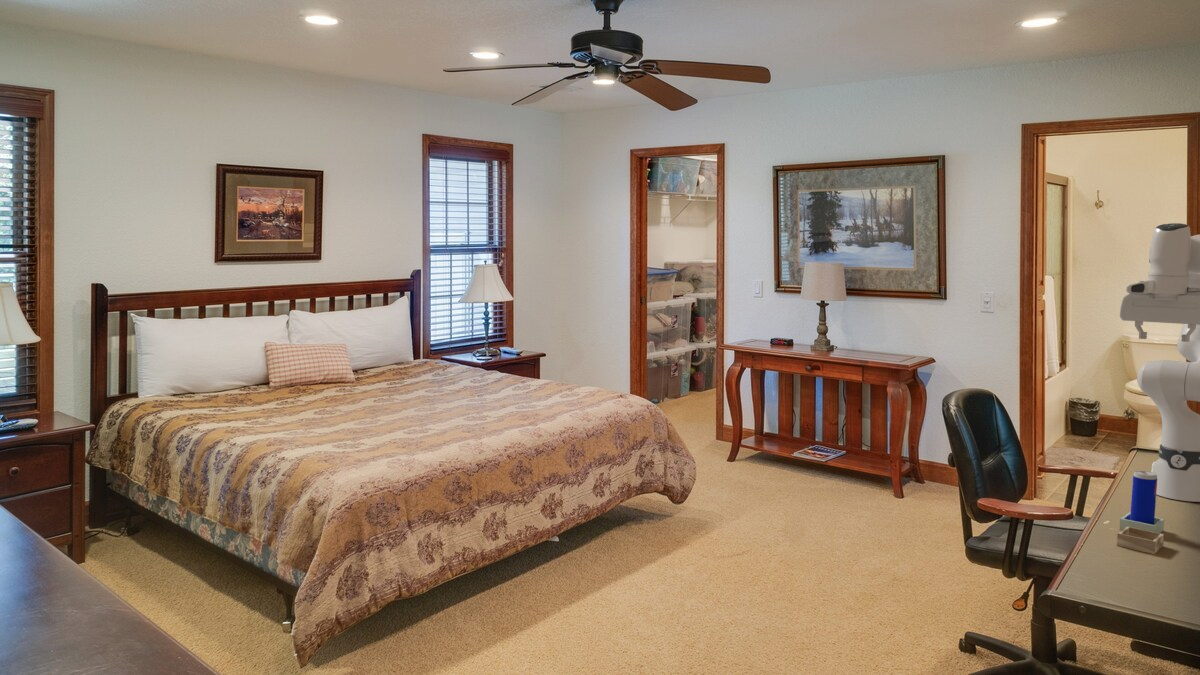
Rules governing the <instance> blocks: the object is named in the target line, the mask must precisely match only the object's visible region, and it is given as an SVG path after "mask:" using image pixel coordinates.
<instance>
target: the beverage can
mask: <svg viewBox="0 0 1200 675" xmlns="http://www.w3.org/2000/svg"><path fill="white" fill-rule="evenodd" d="M1131 488H1132V490H1131V502H1130V512H1131V515H1130V520H1132V521H1137V522H1141V523H1146V524H1151V525H1154V518H1155V517H1156V516H1155V514H1156V505H1157V504H1156V502H1157V494H1156V491H1157V475H1156V474H1155V473H1153V472H1151V471H1148V470H1135V471H1134V473H1133V477H1132V487H1131Z"/></svg>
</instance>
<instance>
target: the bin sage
mask: <svg viewBox="0 0 1200 675" xmlns="http://www.w3.org/2000/svg"><path fill="white" fill-rule="evenodd" d="M1130 515H1131V511H1129V512H1127V513H1126V514H1124V515H1123V516H1122V517H1120V518H1119V529H1118V530H1119V531H1122V530H1123V529H1124V528H1126V527H1127V526H1129V527H1133V528H1138V529H1143V530H1147V531H1152V532H1157V533H1161V534H1162V532H1164V528H1165V519H1164V518H1160V517H1156V516H1155V518H1154V525H1151V524H1146V523H1141V522H1137V521H1132V520H1130Z"/></svg>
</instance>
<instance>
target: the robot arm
mask: <svg viewBox="0 0 1200 675" xmlns="http://www.w3.org/2000/svg"><path fill="white" fill-rule="evenodd" d="M1148 254H1149V255H1148V256H1149V257H1148V258H1149V259H1148V262H1149V265H1150V266H1149V267H1150V268H1149V270H1148V274H1147V280H1140V281H1138V282H1135V283H1131V284H1128V285H1126V287H1125V288H1126V290H1125V291H1126V293H1127V294H1125V295H1124V296H1123V298H1122V300H1121V303H1120V310H1119V317H1120V319H1121V320H1122V321H1125V322H1126V321H1128V322H1134V327H1135V329H1136V330H1137V332H1138V339H1139V340H1146V339H1147V338H1148V336H1147V335H1148V332H1147V331H1144V329H1143V328H1142V326H1143V325H1144V322H1145V323H1162V324H1163V323H1164V324H1181V325H1182V328H1181V329H1180V330H1181V331H1180V333H1179V337H1178V339H1177V340H1178V341H1177V344H1176V345H1177V346H1176V347H1177V350H1178V352H1179V354H1180V355H1181V356H1182V357H1183V358H1184V359H1186V360H1187V361H1180V360H1169V359H1168V360H1167V359H1162V360H1150V361H1145V362H1144V363H1143V364H1142V365H1141V366H1140V368H1138V372H1137V375H1136V381H1137V382H1136V383H1137V385H1138V388H1139V389H1140V390H1141V391H1142V392H1143V393H1144V394H1145V395H1147V397H1149V398H1150V399H1151V400H1152V401H1153V403H1154V404H1155V406H1156V407H1157V410H1158V411H1159V414H1160V417H1161V427H1162V428H1161V429H1162V430H1161V431H1162V432H1161V433H1162V434H1161V444H1160V445H1159V449H1158V457H1159V458H1158V459H1157V460H1155V461H1153V462H1152V465H1151V471H1150V472H1153V473H1155V474H1156V475H1157V491H1156V496H1160V497H1163V498H1166V499H1172V500H1176V501H1177V500H1178V501H1182V502H1195V503H1197V502H1198V503H1200V414H1199V413H1197V412H1195V411H1193V410H1192V409H1190V407H1189V405H1188V404H1187V401H1191V402H1200V234H1195V235H1191V228H1190V225H1188V224H1186V223H1179V222H1178V223H1176V222H1174V223H1171V222H1170V223H1163V224H1160V225H1157V226H1156V227H1154V229H1153V233H1152V236H1151V242H1150V246H1149V253H1148Z"/></svg>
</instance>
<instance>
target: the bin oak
mask: <svg viewBox="0 0 1200 675" xmlns="http://www.w3.org/2000/svg"><path fill="white" fill-rule="evenodd" d="M1116 536H1117V538H1116V546H1117V547H1121V548H1125V549H1131V550H1134V551H1139V552H1144V553H1148V554H1152V555H1155V554H1156V553H1158V551H1159V550H1161V548H1163V547H1164V542H1165V541H1164V540H1165V538H1164V537H1165V533H1162V532H1161V533H1157V532H1152V531H1147V530H1143V529H1138V528H1133V527H1129V526H1127V527H1126V528H1124V529H1123V530H1122V531H1121V530H1119V532H1117V535H1116Z"/></svg>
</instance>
